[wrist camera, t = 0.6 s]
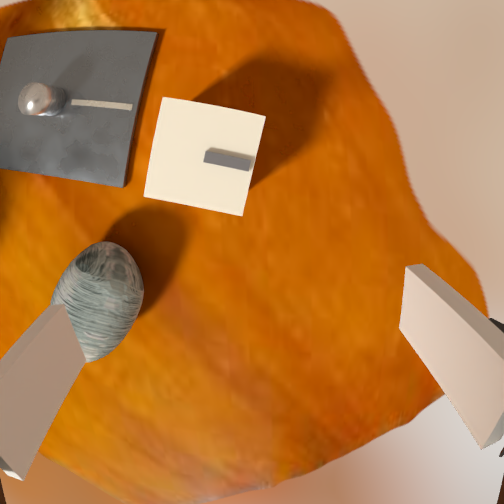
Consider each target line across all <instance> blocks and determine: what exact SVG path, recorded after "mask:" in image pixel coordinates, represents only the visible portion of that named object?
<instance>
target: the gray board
mask: <svg viewBox="0 0 504 504" xmlns="http://www.w3.org/2000/svg"><path fill="white" fill-rule="evenodd" d="M158 36H159V34H158V33H157V32H144V31H120V30H89V31H65V32H52V33H41V34H32V35H24V36H17V37H10V38H8V39H7V42H6V45H5V49H4V52H3V56H2V60H1V63H0V168H1V169H8V170H16V171H22V172H29V173H36V174H43V175H49V176H56V177H62V178H68V179H74V180H80V181H86V182H92V183H98V184H104V185H110V186H115V187H121V188H123V187H125V186H126V179H127V172H128V166H129V160H130V154H131V149H132V143H133V138H134V133H135V128H136V123H137V118H138V113H139V109H140V104H141V100H142V95H143V91H144V87H145V83H146V79H147V75H148V71H149V68H150V64H151V60H152V57H153V53H154V50H155V46H156V43H157V39H158Z"/></svg>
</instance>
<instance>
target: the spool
mask: <svg viewBox="0 0 504 504" xmlns="http://www.w3.org/2000/svg"><path fill="white" fill-rule="evenodd" d="M143 295H144V285H143V280H142V276H141V273H140V270H139V268H138V266H137V264H136V263H135V261H134V259H133V258H132V256H131V255H130V254H129V252H128V251H127V250H125V249H124V248H123V247H121V246H120V245H118V244H115V243H112V242H107V241H104V242H99V243H95V244H92V245H90V246H89V247H88V248H87V249H85V250H84V251H82V252H81V253H80V254H79V255H78V256H77V257H76V258H75V259H74V260H73V261H72V262H71V263H70V264H69V266H68V267H67V269H66V270H65V271H64V273H63V274H62V276H61V278H60V280H59V282H58V284H57V286H56V288H55V290H54V292H53V296H52V299H51V305H58V304H64V305H65V308H66V311H67V313H68V316H69V319H70V321H71V324H72V326H73V329H74V331H75V334H76V336H77V339H78V341H79V344H80V346H81V348H82V351H83V353H84V355H85V357H86V362H92V361H95V360H98V359H100V358H102V357H104V356H106V355H108V354H109V353H110V352H111V351H113V350H114V349H115V348H116V347H117V346H118V345H119V344H120V342H121V341H122V340H123V339H124V337H125V336H126V334H127V333H128V332H129V330H130V329H131V327H132V325H133V323H134V321H135V320H136V318H137V315H138V313H139V310H140V308H141V305H142V301H143Z"/></svg>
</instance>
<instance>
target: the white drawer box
mask: <svg viewBox="0 0 504 504" xmlns="http://www.w3.org/2000/svg"><path fill="white" fill-rule="evenodd" d="M265 118H266V116H262V115H258V114H254V113H249V112H245V111H240V110H235V109H231V108H226V107H220V106H215V105H210V104H204V103H199V102H193V101H187V100H180V99H173V98H167V97H163V99H162V103H161V108H160V112H159V116H158V121H157V126H156V130H155V135H154V140H153V145H152V151H151V156H150V161H149V167H148V173H147V179H146V185H145V191H144V197H149V198H154V199H159V200H164V201H169V202H175V203H180V204H185V205H190V206H195V207H200V208H205V209H209V210H214V211H219V212H224V213H229V214H233V215H238V216H242V215H243V210H244V206H245V202H246V197H247V193H248V189H249V185H250V180H251V176H252V172H253V168H254V164H255V159H256V155H257V151H258V147H259V143H260V139H261V134H262V130H263V126H264V122H265Z"/></svg>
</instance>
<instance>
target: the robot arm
mask: <svg viewBox="0 0 504 504" xmlns="http://www.w3.org/2000/svg"><path fill="white" fill-rule="evenodd" d="M399 329H400V331H401V332H402V333H403V335H404V336H405V337H406V339H407V340H408V341H409V343H410V344H411V345H412V347H413V348H414V350H415V351H416V352H417V354H418V355H419V357H420V358H421V359H422V361H423V362H424V364H425V365H426V366H427V368H428V369H429V371H430V372H431V374H432V375H433V377H434V378H435V379H436V381H437V382H438V384H439V385H440V387H441V388H442V390H443V391H444V393H445V394H446V396H447V397H448V399H449V400H450V402H451V403H452V405H453V406H454V408H455V409H456V411H457V412H458V414H459V415H460V417H461V418H462V420H463V421H464V423H465V425H466V426H467V427H468V429H469V431H470V432H471V434H472V436H473V437H474V438H475V440H476V442H477V444H478V445H479V447H480V449H481V450H482V449H483V448H485V447H487V446H489V445H491V444H493V443H495V442H497V441H499V440H500V439H501V438H502V436H503V434H504V324H502V323H500V322H498V321H496V320H494V319H492V318H490V319H488V318H487V317H485V316H484V315H483V314H482V313H481V312H480V311H479V310H478V309H476V308H475V307H474V306H473V305H472V304H471V303H470V302H468V301H467V300H466V299H465V298H464V297H463V296H461V295H460V294H459V293H458V292H457V291H455V290H454V289H453V288H452V287H451V286H449V285H448V284H447V283H446V282H445V281H443V280H442V279H441V278H440V277H439V276H437V275H436V274H435V273H434V272H432V271H431V270H430V269H429V268H427V267H426V266H425V265H424V264H418V265H411V266H406V269H405V281H404V292H403V301H402V310H401V318H400V326H399ZM85 362H86V357H85V355H84V353H83V351H82V348H81V346H80V344H79V341H78V339H77V336H76V334H75V331H74V329H73V326H72V324H71V321H70V319H69V316H68V313H67V311H66V308H65V305H64V304H58V305H50V306H49V307H48V308H47V309H46V310H45V311H44V312H43V313H42V314H41V315H40V316H39V317H38V318H37V319H36V320H35V321H34V323H33V324H32V325H31V326H30V327H29V328H28V329H27V330H26V331H25V332H24V334H23V335H22V336H21V337H20V338H19V339H18V340H17V341H16V343H15V344H14V345H13V346H12V347H11V348H10V349H9V351H8V352H7V353H6V354H5V355H4V356H3V358H2V359H1V360H0V468H1V469H2V470H3V471H4V472H5V473H6V474H7V475H8V476H11V477H14V478H16V479H19V480H22V481H24V479H25V477H26V475H27V472H28V470H29V468H30V466H31V464H32V462H33V460H34V458H35V455H36V453H37V451H38V449H39V447H40V445H41V443H42V441H43V439H44V437H45V435H46V433H47V431H48V429H49V427H50V425H51V424H52V422H53V420H54V418H55V416H56V414H57V412H58V410H59V408H60V407H61V405H62V403H63V401H64V399H65V397H66V395H67V394H68V392H69V390H70V388H71V386H72V385H73V383H74V381H75V379H76V378H77V376H78V374H79V372H80V371H81V369H82V367H83V365H84V364H85ZM503 455H504V448H503V449H502V451H501V453H500V455H499V457H502V456H503ZM0 504H6V501H5V497H4V493H3V489H2V484H1V480H0ZM497 504H504V476H503V480H502V485H501V489H500V493H499V497H498V501H497Z"/></svg>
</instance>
